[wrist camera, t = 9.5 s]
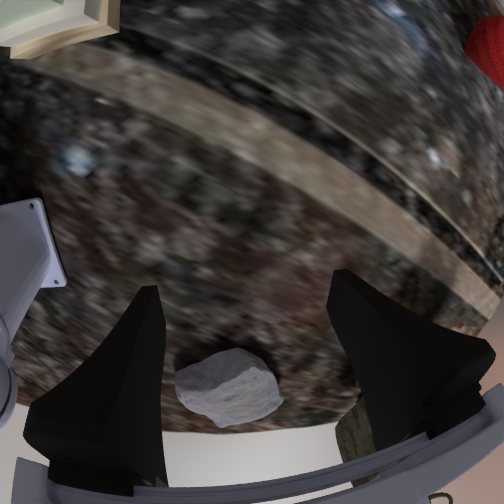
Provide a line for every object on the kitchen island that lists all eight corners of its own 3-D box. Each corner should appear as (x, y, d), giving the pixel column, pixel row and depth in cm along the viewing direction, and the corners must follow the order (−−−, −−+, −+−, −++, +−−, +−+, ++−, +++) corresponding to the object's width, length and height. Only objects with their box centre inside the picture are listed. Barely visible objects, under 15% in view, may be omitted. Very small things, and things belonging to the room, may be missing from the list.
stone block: (241, 326, 30) (164, 372, 29) (258, 359, 26) (172, 407, 25) (281, 374, 37) (218, 410, 36) (297, 401, 33) (229, 438, 32)
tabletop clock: (359, 403, 42) (410, 528, 21) (317, 405, 39) (366, 550, 18) (417, 345, 36) (495, 484, 15) (378, 341, 33) (466, 514, 12)
